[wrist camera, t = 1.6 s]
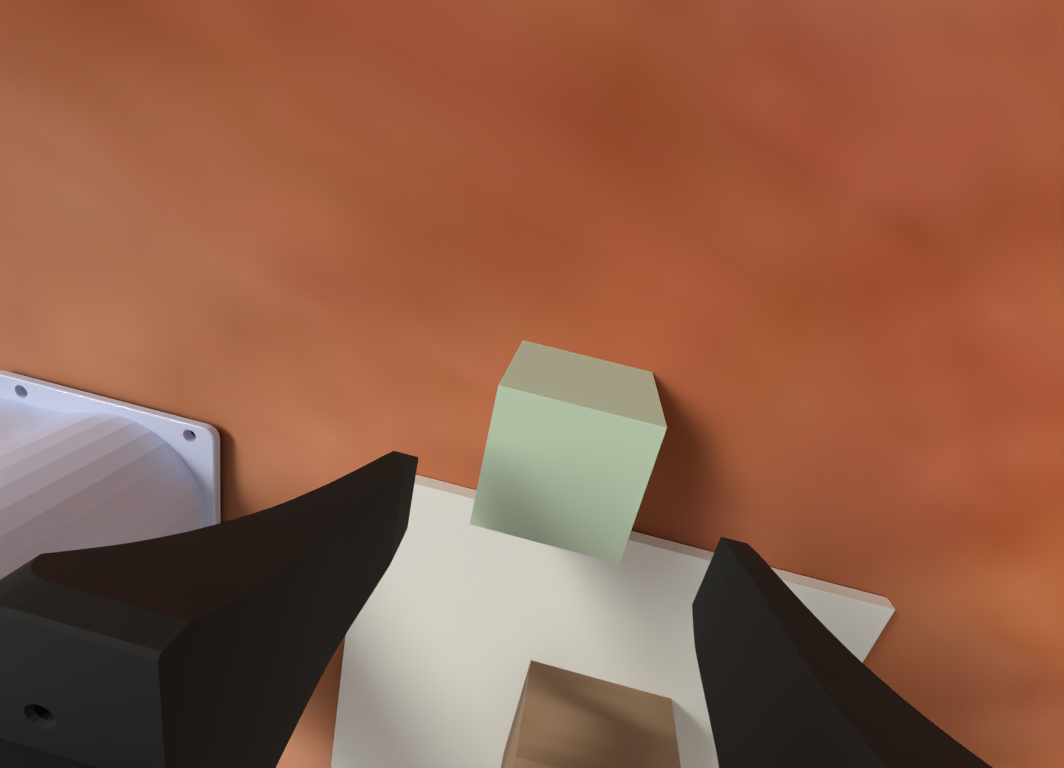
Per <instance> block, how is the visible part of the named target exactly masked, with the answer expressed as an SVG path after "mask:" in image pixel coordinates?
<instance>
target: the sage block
mask: <svg viewBox="0 0 1064 768" xmlns="http://www.w3.org/2000/svg"><path fill="white" fill-rule="evenodd" d="M666 429H667V425H666V422H665V418H664V414H663V410H662V407H661V403H660V399H659V395H658V392H657V388H656V384H655V380H654V376H653V373H652V372H649V371H645V370H641V369H637V368H633V367H629V366H625V365H621V364H617V363H613V362H609V361H605V360H601V359H597V358H593V357H589V356H585V355H581V354H577V353H573V352H568V351H564V350H560V349H556V348H552V347H548V346H544V345H540V344H536V343H532V342H528V341H524V340H523V341H522V343H521V345H520V347H519V348H518V350H517V352H516V354H515V356H514V358H513V359H512V361H511V363H510V365H509V367H508V369H507V370H506V372H505V374H504V376H503V378H502V380H501V381H500V383H499V385H498V390H497V395H496V399H495V404H494V409H493V414H492V419H491V424H490V428H489V433H488V438H487V443H486V448H485V453H484V457H483V462H482V467H481V472H480V477H479V482H478V486H477V491H476V496H475V501H474V506H473V511H472V515H471V520H470V525H474V526H478V527H482V528H485V529H489V530H493V531H497V532H501V533H504V534H508V535H512V536H516V537H519V538H523V539H527V540H531V541H535V542H538V543H542V544H546V545H550V546H554V547H557V548H561V549H565V550H569V551H572V552H576V553H580V554H584V555H588V556H591V557H595V558H599V559H603V560H606V561H610V562H614V563H618V564H620V561H621V559H622V556H623V553H624V550H625V547H626V544H627V541H628V538H629V536H630V533H631V530H632V527H633V524H634V521H635V518H636V515H637V513H638V510H639V507H640V504H641V501H642V498H643V495H644V492H645V490H646V487H647V484H648V481H649V478H650V475H651V472H652V469H653V467H654V464H655V461H656V458H657V455H658V452H659V449H660V446H661V444H662V441H663V438H664V435H665V432H666Z"/></svg>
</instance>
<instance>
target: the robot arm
mask: <svg viewBox="0 0 1064 768" xmlns="http://www.w3.org/2000/svg"><path fill="white" fill-rule="evenodd" d="M191 431H193V433H194V434H195V436H196V437H195V436H194V435H193V434H192V433H191ZM417 463H418V457H415V456H411V455H407V454H403V453H400V452H396V451H393V452H390V453H388V454H386V455H384V456H382V457H380V458H379V459H377V460H375V461H373V462H371V463H369V464H367V465H365V466H363V467H361V468H359V469H357V470H355V471H353V472H351V473H349V474H347V475H345V476H343V477H341V478H339V479H337V480H335V481H333V482H331V483H329V484H327V485H325V486H322V487H320V488H318V489H315V490H313V491H311V492H309V493H306V494H304V495H302V496H299V497H297V498H295V499H293V500H290V501H287V502H285V503H282V504H280V505H277V506H274V507H271V508H269V509H266V510H263V511H260V512H257V513H254V514H251V515H248V516H244V517H241V518H238V519H234V520H230V521H226V522H223V523H221V521H220V436H219V433H218V431H217V429H215V428H214V427H213V426H211V425H209V424H206V423H203V422H199V421H195V420H191V419H187V418H183V417H180V416H176V415H172V414H168V413H164V412H161V411H157V410H153V409H149V408H145V407H141V406H138V405H134V404H130V403H126V402H122V401H119V400H115V399H111V398H107V397H103V396H99V395H96V394H92V393H88V392H84V391H80V390H77V389H73V388H69V387H65V386H61V385H57V384H54V383H50V382H46V381H42V380H38V379H35V378H31V377H27V376H23V375H19V374H15V373H12V372H8V371H1V370H0V768H276V766H277V764H278V762H279V759H280V757H281V755H282V753H283V751H284V749H285V747H286V745H287V743H288V741H289V739H290V737H291V735H292V733H293V731H294V729H295V727H296V725H297V723H298V721H299V719H300V717H301V715H302V713H303V711H304V709H305V707H306V705H307V703H308V701H309V699H310V697H311V695H312V693H313V691H314V690H315V688H316V686H317V684H318V682H319V680H320V678H321V676H322V674H323V672H324V670H325V668H326V666H327V664H328V663H329V661H330V659H331V657H332V656H333V654H334V652H335V651H336V649H337V647H338V646H339V644H340V642H341V641H342V639H343V638H344V636H345V635H346V633H347V631H348V630H349V628H350V627H351V625H352V624H353V622H354V621H355V619H356V618H357V616H358V614H359V613H360V611H361V610H362V608H363V607H364V605H365V604H366V602H367V600H368V599H369V597H370V596H371V594H372V593H373V591H374V590H375V588H376V586H377V585H378V583H379V582H380V580H381V579H382V577H383V575H384V574H385V572H386V571H387V569H388V567H389V566H390V564H391V562H392V560H393V558H394V556H395V554H396V552H397V550H398V548H399V545H400V543H401V541H402V539H403V537H404V535H405V532H406V530H407V528H408V522H409V515H410V509H411V502H412V496H413V489H414V483H415V476H416V470H417ZM692 615H693V631H694V643H695V651H696V656H697V661H698V666H699V671H700V676H701V681H702V686H703V691H704V696H705V700H706V705H707V710H708V714H709V719H710V724H711V729H712V733H713V738H714V743H715V748H716V753H717V759H718V765H719V768H992V767H991V766H989V765H988V764H987V763H985V762H984V761H983V760H981V759H980V758H978V757H977V756H976V755H974V754H973V753H972V752H970V751H969V750H967V749H966V748H965V747H963V746H962V745H961V744H959V743H958V742H957V741H956V740H954V739H953V738H952V737H950V736H949V735H948V734H947V733H945V732H944V731H943V730H941V729H940V728H939V727H938V726H936V725H935V724H934V723H932V722H931V721H930V720H928V719H927V718H926V717H925V716H923V715H922V714H921V713H920V712H918V711H917V710H916V709H915V708H914V707H912V706H911V705H910V704H909V703H907V702H906V701H905V700H904V699H903V698H901V697H900V696H899V695H898V694H897V693H896V692H895V691H893V690H892V689H891V688H890V687H889V686H888V685H887V684H885V683H884V682H883V681H882V680H881V679H880V678H879V677H877V676H876V675H875V674H874V673H873V672H872V671H871V670H870V669H868V668H867V667H866V666H865V665H864V664H863V663H862V662H861V661H860V660H859V659H858V658H857V657H856V656H855V655H853V654H852V653H851V652H850V651H849V650H848V649H847V648H846V647H845V646H844V645H843V644H842V643H841V642H840V641H839V640H838V639H837V638H836V637H835V636H834V635H833V634H832V633H831V632H830V631H829V630H828V629H827V628H826V627H825V626H824V625H823V624H822V623H821V622H820V621H819V619H818V618H817V617H816V616H815V615H814V614H813V613H812V612H811V611H810V610H809V609H808V608H807V607H806V606H805V605H804V604H803V602H802V601H801V600H800V599H799V598H798V597H797V596H796V595H795V594H794V593H793V592H792V590H791V589H790V588H789V587H788V586H787V585H786V584H785V583H784V582H783V581H782V579H781V578H780V577H779V576H778V575H777V574H776V573H775V572H774V571H773V570H772V568H771V567H770V566H769V565H768V564H767V563H766V562H765V561H764V560H763V559H762V558H761V557H760V555H759V554H758V553H757V552H756V551H755V550H754V549H753V548H752V547H750V546H749V545H748V544H746V543H742V542H739V541H735V540H731V539H727V538H723V537H721V538H720V541H719V543H718V545H717V548H716V550H715V552H714V555H713V557H712V559H711V562H710V564H709V566H708V569H707V571H706V573H705V576H704V578H703V580H702V583H701V585H700V587H699V590H698V592H697V594H696V597H695V599H694V601H693V604H692Z"/></svg>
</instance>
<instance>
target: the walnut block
mask: <svg viewBox="0 0 1064 768" xmlns="http://www.w3.org/2000/svg"><path fill="white" fill-rule="evenodd" d="M501 768H681V765H680V758H679V750H678V743H677V735H676V728H675V721H674V713H673V706H672V699H670V698H667V697H663V696H659V695H656V694H652V693H648V692H645V691H641V690H638V689H634V688H630V687H627V686H623V685H619V684H616V683H612V682H608V681H605V680H601V679H598V678H594V677H590V676H587V675H583V674H579V673H576V672H572V671H568V670H565V669H561V668H557V667H554V666H550V665H547V664H543V663H539V662H536V661H532V660H531V662H530V665H529V668H528V672H527V675H526V678H525V682H524V685H523V689H522V692H521V695H520V699H519V702H518V706H517V709H516V712H515V716H514V719H513V723H512V726H511V729H510V733H509V736H508V740H507V743H506V746H505V750H504V753H503V758H502V764H501Z"/></svg>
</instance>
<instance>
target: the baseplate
mask: <svg viewBox="0 0 1064 768" xmlns="http://www.w3.org/2000/svg"><path fill="white" fill-rule="evenodd" d="M476 491H477V490H473V489H470V488H466V487H462V486H458V485H454V484H450V483H447V482H443V481H439V480H435V479H431V478H427V477H424V476H420V475H416V476H415V483H414V489H413V496H412V502H411V509H410V515H409V522H408V528H407V530H406V532H405V535H404V537H403V539H402V541H401V543H400V545H399V548H398V550H397V552H396V554H395V556H394V558H393V560H392V562H391V564H390V566H389V567H388V569H387V571H386V572H385V574H384V575H383V577H382V579H381V580H380V582H379V583H378V585H377V586H376V588H375V590H374V591H373V593H372V594H371V596H370V597H369V599H368V600H367V602H366V604H365V605H364V607H363V608H362V610H361V611H360V613H359V614H358V616H357V618H356V619H355V621H354V622H353V624H352V625H351V627H350V628H349V630H348V631H347V633H346V636H345V645H344V654H343V662H342V671H341V680H340V689H339V698H338V707H337V716H336V725H335V734H334V743H333V751H332V760H331V768H501V764H502V758H503V753H504V750H505V746H506V743H507V740H508V736H509V733H510V729H511V726H512V723H513V719H514V716H515V712H516V709H517V706H518V702H519V699H520V695H521V692H522V689H523V685H524V682H525V678H526V675H527V672H528V668H529V665H530V662H531V660H532V661H536V662H539V663H543V664H547V665H550V666H554V667H557V668H561V669H565V670H568V671H572V672H576V673H579V674H583V675H587V676H590V677H594V678H598V679H601V680H605V681H608V682H612V683H616V684H619V685H623V686H627V687H630V688H634V689H638V690H641V691H645V692H648V693H652V694H656V695H659V696H663V697H667V698H670V699H672V706H673V713H674V721H675V728H676V735H677V743H678V750H679V758H680V765H681V768H719V765H718V759H717V753H716V748H715V743H714V738H713V733H712V729H711V724H710V719H709V714H708V710H707V705H706V700H705V696H704V691H703V686H702V681H701V676H700V671H699V666H698V661H697V656H696V651H695V643H694V631H693V615H692V604H693V601H694V599H695V597H696V594H697V592H698V590H699V587H700V585H701V583H702V580H703V578H704V576H705V573H706V571H707V569H708V566H709V564H710V562H711V559H712V557H713V555H714V552H710V551H707V550H703V549H699V548H695V547H691V546H687V545H684V544H680V543H676V542H672V541H668V540H665V539H661V538H657V537H653V536H649V535H645V534H642V533H638V532H634V531H631V533H630V536H629V538H628V541H627V544H626V547H625V550H624V553H623V556H622V559H621V561H620V564H618V563H614V562H610V561H606V560H603V559H599V558H595V557H591V556H588V555H584V554H580V553H576V552H572V551H569V550H565V549H561V548H557V547H554V546H550V545H546V544H542V543H538V542H535V541H531V540H527V539H523V538H519V537H516V536H512V535H508V534H504V533H501V532H497V531H493V530H489V529H485V528H482V527H478V526H474V525H470V520H471V515H472V511H473V506H474V501H475V496H476ZM771 568H772V567H771ZM772 570H773V571H774V572H775V573H776V574H777V575H778V576H779V577H780V578H781V579H782V581H783V582H784V583H785V584H786V585H787V586H788V587H789V588H790V589H791V590H792V592H793V593H794V594H795V595H796V596H797V597H798V598H799V599H800V600H801V601H802V602H803V604H804V605H805V606H806V607H807V608H808V609H809V610H810V611H811V612H812V613H813V614H814V615H815V616H816V617H817V618H818V619H819V621H820V622H821V623H822V624H823V625H824V626H825V627H826V628H827V629H828V630H829V631H830V632H831V633H832V634H833V635H834V636H835V637H836V638H837V639H838V640H839V641H840V642H841V643H842V644H843V645H844V646H845V647H846V648H847V649H848V650H849V651H850V652H851V653H852V654H853V655H855V656H856V657H857V658H858V659H859V660H860V661H861V662H862V663H863V661H864V660H865V658H866V656H867V655H868V653H869V651H870V650H871V648H872V647H873V645H874V643H875V642H876V640H877V639H878V637H879V635H880V634H881V632H882V630H883V629H884V627H885V626H886V624H887V622H888V621H889V619H890V617H891V616H892V614H893V613H894V611H895V609H894V607H893V606H892V604H891V603H890V601H889V600H888V599H887V598H886V597H882V596H879V595H875V594H871V593H867V592H863V591H860V590H856V589H852V588H848V587H844V586H840V585H837V584H833V583H829V582H825V581H821V580H817V579H814V578H810V577H806V576H802V575H798V574H795V573H791V572H787V571H783V570H779V569H775V568H772Z"/></svg>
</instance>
